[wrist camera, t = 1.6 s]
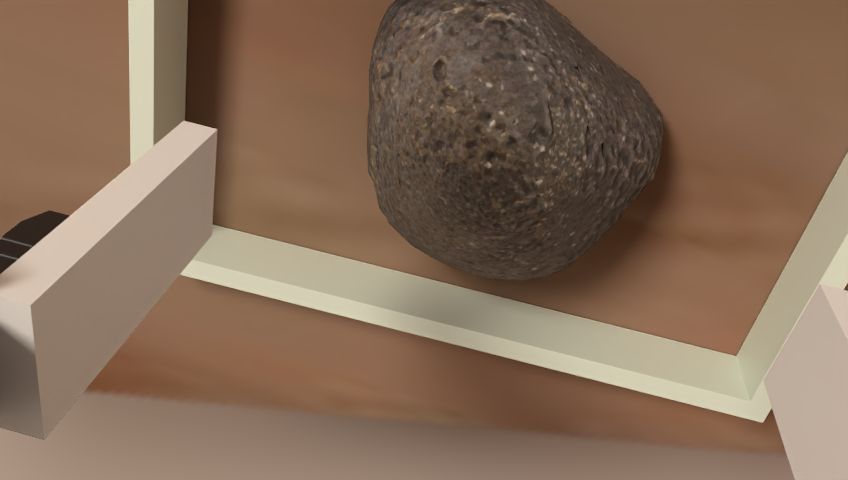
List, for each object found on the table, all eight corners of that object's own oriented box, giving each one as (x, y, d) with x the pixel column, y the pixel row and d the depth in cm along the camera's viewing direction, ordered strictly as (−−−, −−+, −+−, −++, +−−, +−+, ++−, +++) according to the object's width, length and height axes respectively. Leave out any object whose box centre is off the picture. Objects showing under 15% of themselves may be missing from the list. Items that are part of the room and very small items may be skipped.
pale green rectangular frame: (162, 228, 30) (131, 262, 28) (168, -309, 21) (123, -319, 19) (748, 377, 29) (762, 422, 27) (1024, -111, 20) (1078, -99, 18)
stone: (583, 193, 31) (784, 147, 22) (435, 332, 28) (595, 348, 19) (438, -11, 29) (590, -158, 20) (264, 115, 26) (347, 12, 17)
